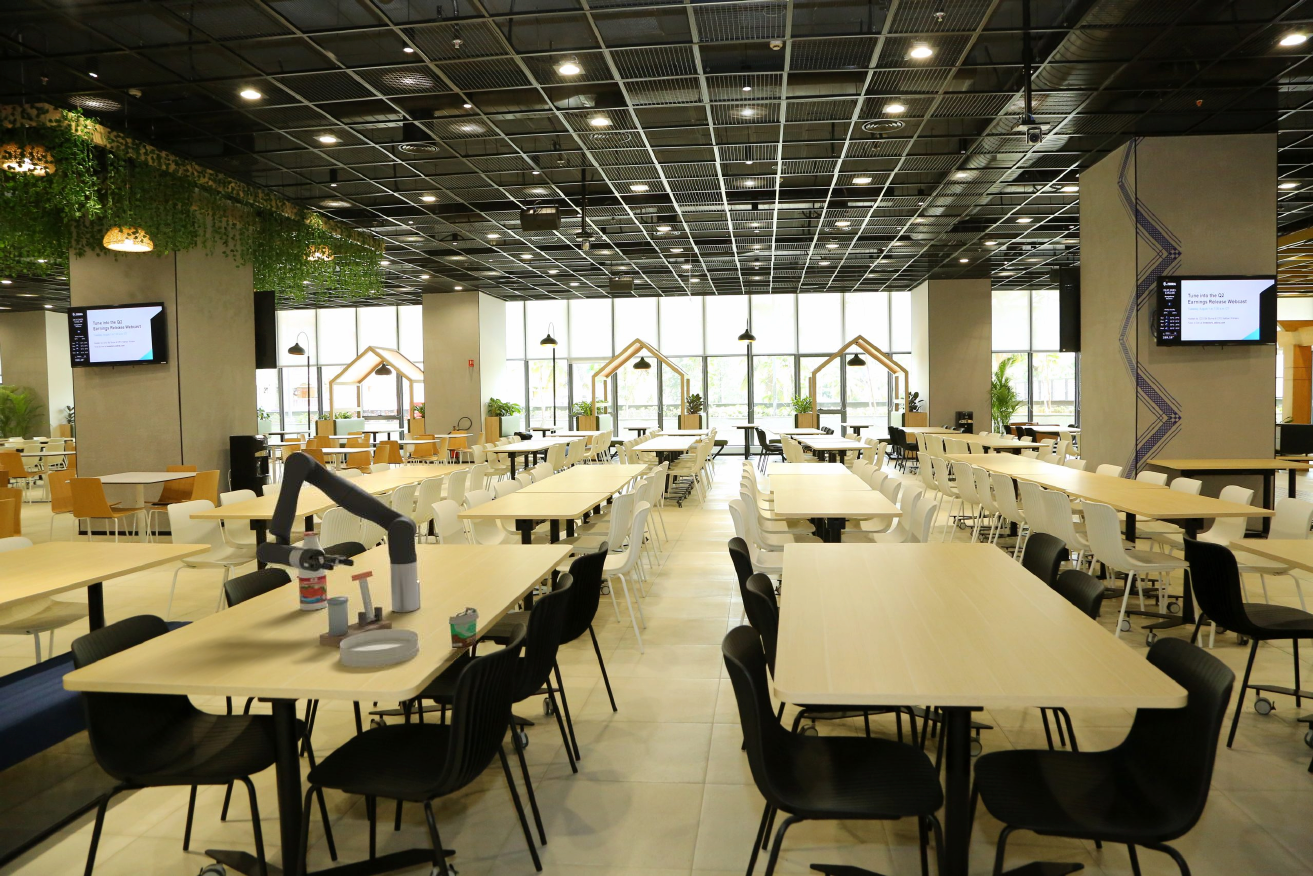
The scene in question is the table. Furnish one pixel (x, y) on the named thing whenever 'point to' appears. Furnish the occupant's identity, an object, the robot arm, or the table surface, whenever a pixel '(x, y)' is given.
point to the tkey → (366, 595)
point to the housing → (357, 628)
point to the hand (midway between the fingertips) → (343, 565)
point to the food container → (464, 628)
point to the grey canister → (338, 616)
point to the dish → (379, 647)
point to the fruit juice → (312, 580)
